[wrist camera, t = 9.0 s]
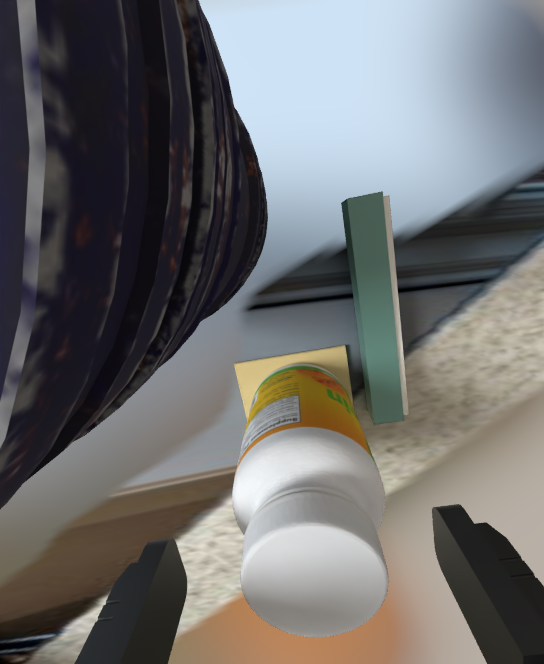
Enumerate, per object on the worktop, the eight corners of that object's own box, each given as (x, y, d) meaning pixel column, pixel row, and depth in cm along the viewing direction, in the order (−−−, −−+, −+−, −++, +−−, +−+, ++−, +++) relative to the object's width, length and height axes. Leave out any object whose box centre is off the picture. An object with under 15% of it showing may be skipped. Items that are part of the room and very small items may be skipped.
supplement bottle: (367, 421, 18) (454, 616, 9) (284, 463, 19) (282, 679, 10) (318, 342, 17) (355, 467, 8) (233, 391, 18) (173, 555, 8)
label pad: (256, 456, 19) (256, 458, 19) (234, 362, 18) (234, 364, 17) (358, 442, 19) (358, 444, 18) (344, 344, 17) (345, 346, 17)
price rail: (367, 410, 18) (374, 424, 17) (341, 202, 15) (347, 198, 14) (400, 405, 18) (410, 419, 16) (379, 195, 15) (389, 190, 14)
